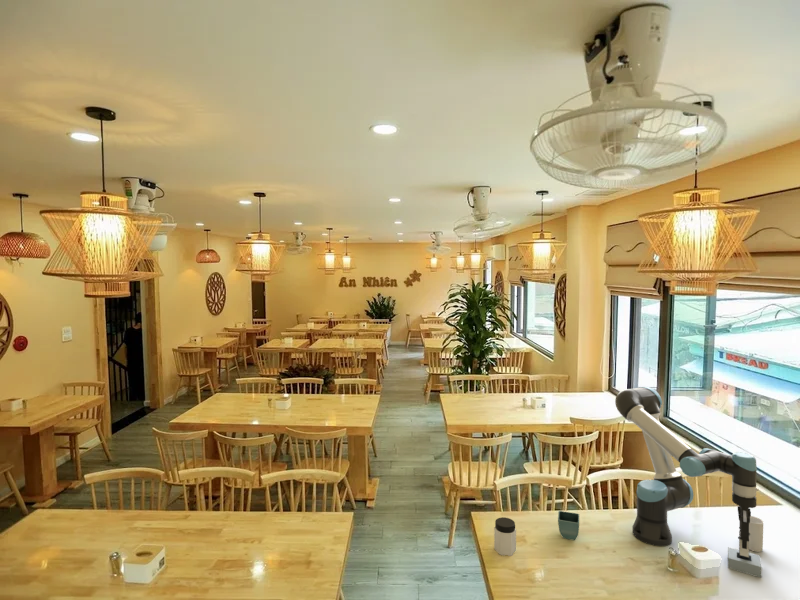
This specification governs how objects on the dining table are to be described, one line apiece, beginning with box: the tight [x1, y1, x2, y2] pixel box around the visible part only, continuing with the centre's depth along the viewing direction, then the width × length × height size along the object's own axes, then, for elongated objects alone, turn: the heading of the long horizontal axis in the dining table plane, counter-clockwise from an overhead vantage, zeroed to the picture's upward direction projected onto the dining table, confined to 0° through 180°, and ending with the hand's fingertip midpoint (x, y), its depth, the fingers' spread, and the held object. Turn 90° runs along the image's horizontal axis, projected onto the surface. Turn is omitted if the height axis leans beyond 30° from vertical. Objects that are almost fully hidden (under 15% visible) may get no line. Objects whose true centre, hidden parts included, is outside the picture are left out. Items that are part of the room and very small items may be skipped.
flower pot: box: [557, 510, 580, 541], centre depth 195 cm, size 9×9×9 cm
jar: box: [493, 517, 517, 557], centre depth 185 cm, size 9×8×12 cm
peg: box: [738, 531, 749, 561], centre depth 173 cm, size 3×3×12 cm
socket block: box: [727, 546, 762, 578], centre depth 173 cm, size 10×9×4 cm
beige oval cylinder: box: [749, 515, 764, 553], centre depth 187 cm, size 10×7×12 cm, turn 172°
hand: (743, 553), depth 173 cm, fingers closed on peg, 3 cm apart
